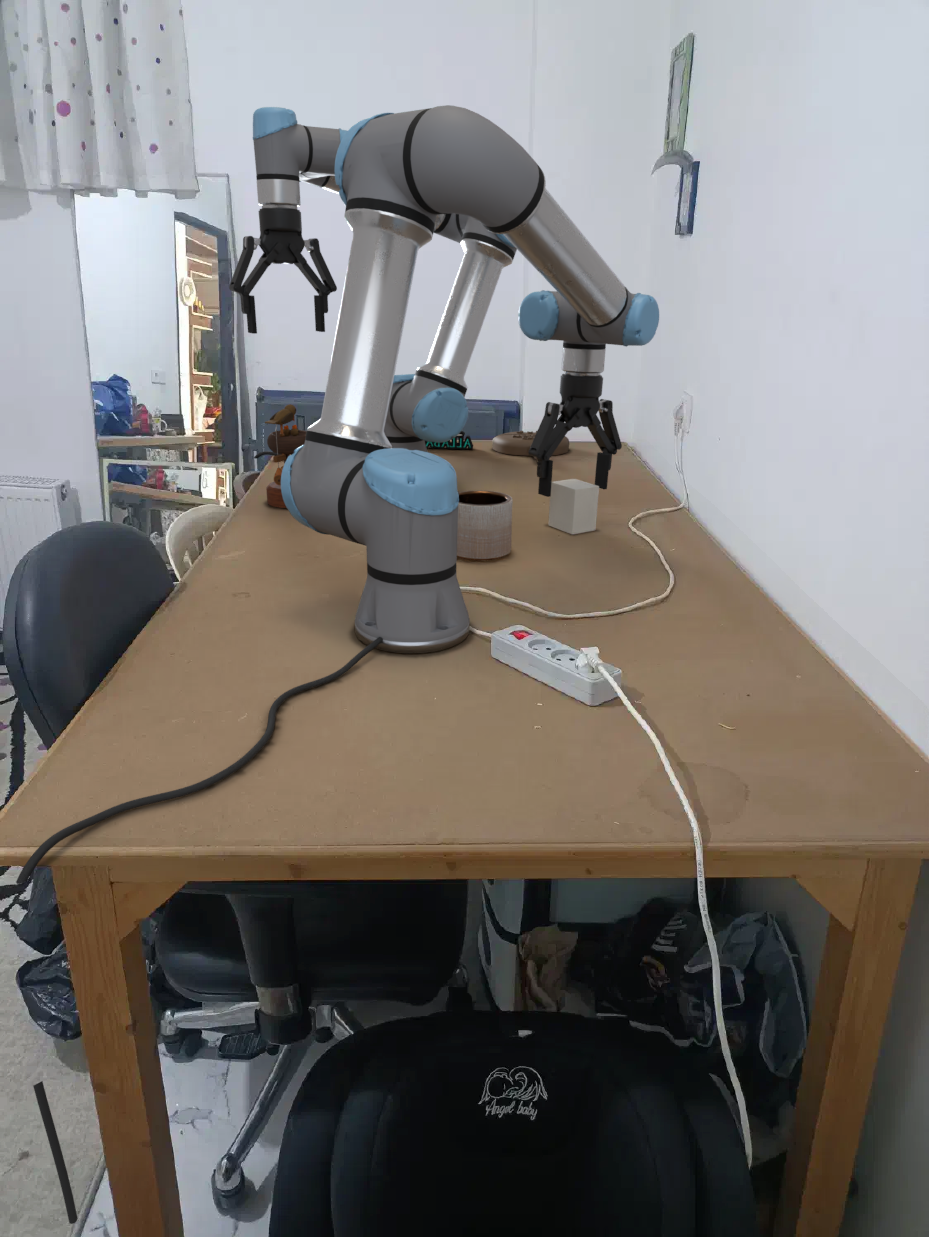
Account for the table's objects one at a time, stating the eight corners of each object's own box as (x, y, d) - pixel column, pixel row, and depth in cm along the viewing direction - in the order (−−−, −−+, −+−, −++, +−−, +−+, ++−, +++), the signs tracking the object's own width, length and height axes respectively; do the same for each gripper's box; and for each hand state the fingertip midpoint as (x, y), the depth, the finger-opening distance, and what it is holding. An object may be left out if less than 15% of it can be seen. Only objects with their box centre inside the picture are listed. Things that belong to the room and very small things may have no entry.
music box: (311, 511, 168) (297, 408, 160) (258, 513, 169) (241, 411, 162) (331, 492, 182) (318, 397, 174) (282, 494, 183) (267, 400, 176)
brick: (571, 521, 165) (574, 478, 161) (595, 530, 159) (599, 486, 156) (548, 525, 162) (550, 481, 158) (572, 534, 156) (575, 489, 153)
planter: (440, 545, 148) (440, 491, 144) (498, 541, 151) (500, 488, 148) (458, 564, 139) (459, 507, 135) (520, 559, 142) (522, 503, 138)
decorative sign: (473, 447, 231) (474, 391, 225) (472, 449, 229) (473, 392, 223) (404, 445, 232) (403, 389, 226) (403, 447, 230) (402, 390, 224)
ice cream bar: (498, 464, 211) (498, 448, 209) (490, 443, 237) (490, 428, 235) (581, 465, 212) (583, 448, 210) (564, 444, 238) (565, 429, 236)
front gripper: (619, 369, 159) (609, 481, 167) (512, 373, 146) (507, 494, 154) (648, 373, 153) (636, 488, 161) (539, 377, 140) (532, 502, 148)
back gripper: (334, 212, 161) (338, 329, 169) (204, 205, 149) (215, 332, 157) (351, 210, 155) (355, 332, 164) (217, 203, 143) (229, 335, 151)
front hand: (573, 491), depth 158 cm, fingers open, 13 cm apart
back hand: (287, 332), depth 160 cm, fingers open, 13 cm apart
